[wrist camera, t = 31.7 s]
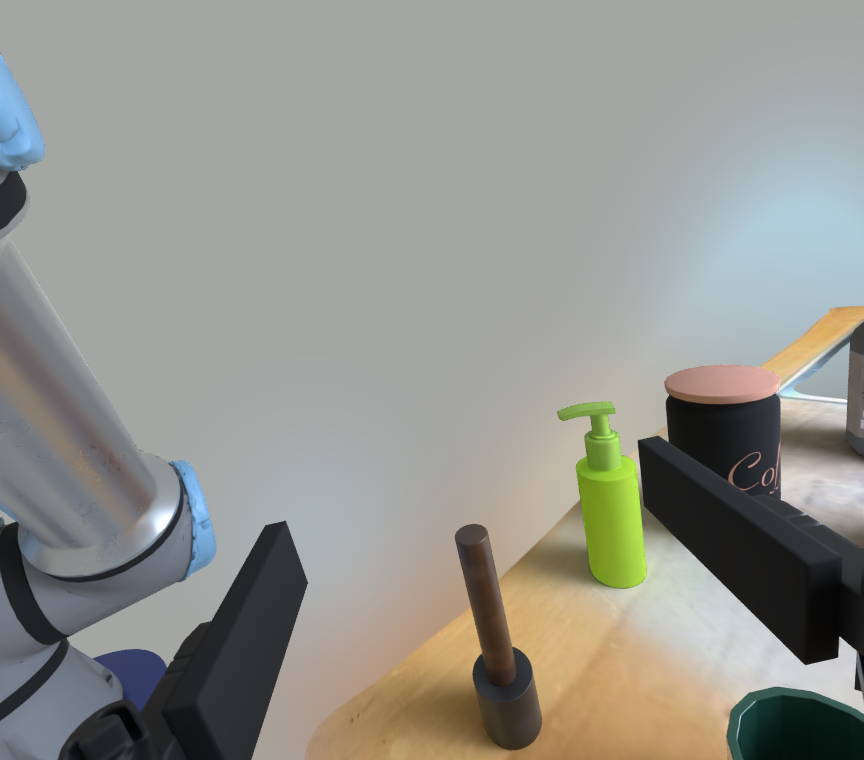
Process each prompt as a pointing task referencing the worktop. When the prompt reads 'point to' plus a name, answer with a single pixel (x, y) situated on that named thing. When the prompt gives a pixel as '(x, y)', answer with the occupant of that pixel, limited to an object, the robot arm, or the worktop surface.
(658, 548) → the worktop surface
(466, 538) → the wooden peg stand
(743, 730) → the teal faceted cup
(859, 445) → the liquor
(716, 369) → the coffee jar
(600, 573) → the soap dispenser
